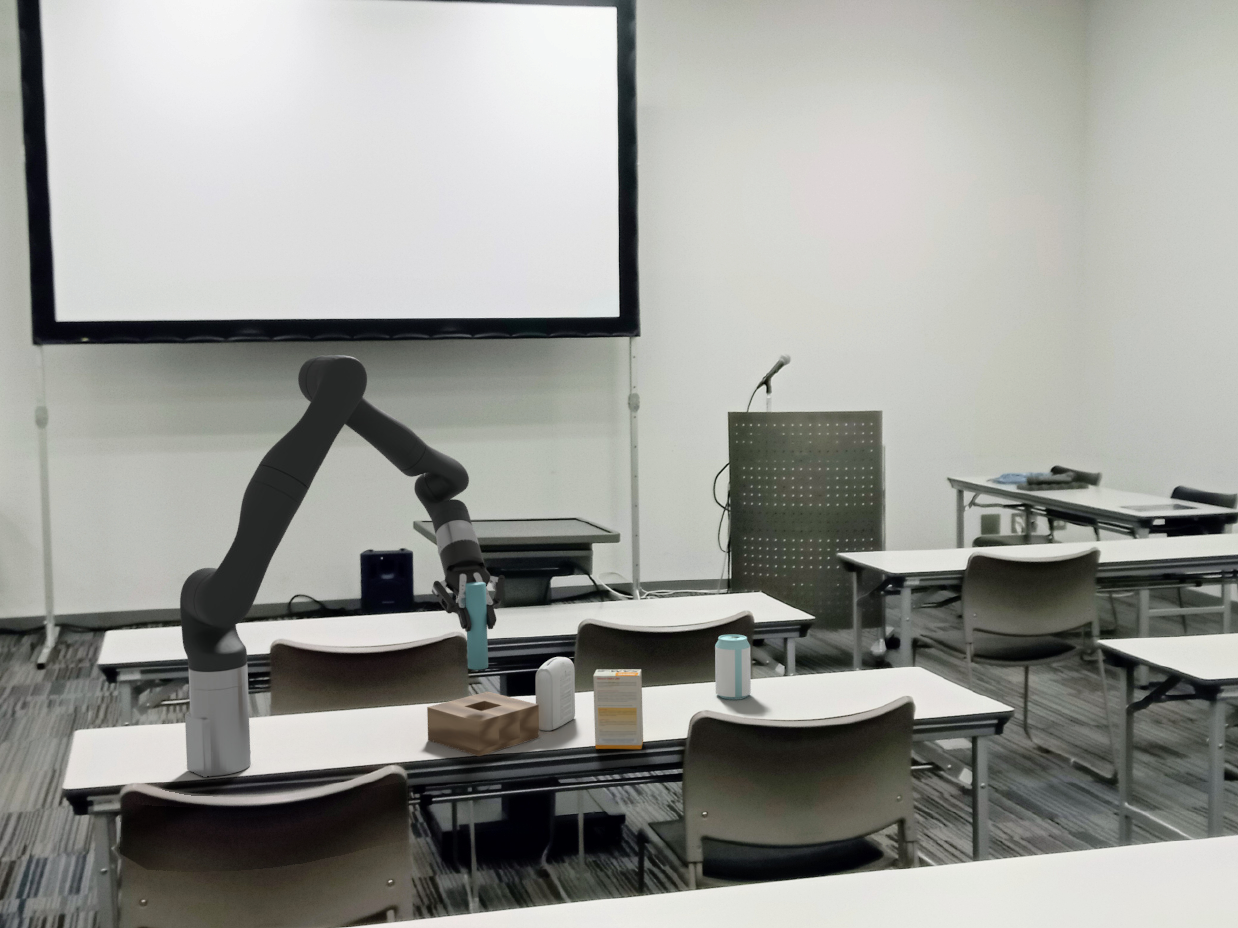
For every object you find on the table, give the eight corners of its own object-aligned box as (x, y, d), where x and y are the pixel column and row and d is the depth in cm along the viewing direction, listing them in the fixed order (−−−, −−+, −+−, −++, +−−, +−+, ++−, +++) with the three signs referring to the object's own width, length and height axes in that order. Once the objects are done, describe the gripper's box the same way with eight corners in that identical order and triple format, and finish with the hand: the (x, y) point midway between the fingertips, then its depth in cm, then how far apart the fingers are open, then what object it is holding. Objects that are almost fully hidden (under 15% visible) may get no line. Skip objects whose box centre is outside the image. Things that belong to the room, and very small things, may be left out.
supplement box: (643, 741, 203) (642, 668, 202) (641, 750, 198) (640, 675, 198) (597, 741, 204) (596, 667, 203) (593, 749, 199) (592, 674, 198)
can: (711, 692, 236) (711, 634, 235) (744, 690, 237) (744, 632, 236) (720, 701, 229) (720, 641, 228) (755, 699, 230) (754, 639, 229)
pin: (476, 670, 203) (474, 586, 202) (463, 667, 206) (461, 584, 204) (492, 666, 206) (489, 583, 205) (479, 663, 208) (476, 581, 207)
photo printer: (557, 715, 220) (556, 651, 220) (578, 717, 219) (577, 653, 218) (532, 730, 211) (531, 663, 210) (553, 732, 209) (552, 665, 209)
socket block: (478, 756, 196) (477, 721, 196) (428, 740, 206) (427, 706, 205) (539, 737, 206) (538, 704, 206) (488, 722, 216) (487, 691, 216)
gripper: (424, 541, 208) (444, 619, 198) (500, 535, 214) (522, 611, 203) (418, 566, 213) (437, 644, 203) (492, 559, 219) (514, 635, 209)
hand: (480, 627), depth 203 cm, fingers closed on pin, 3 cm apart
